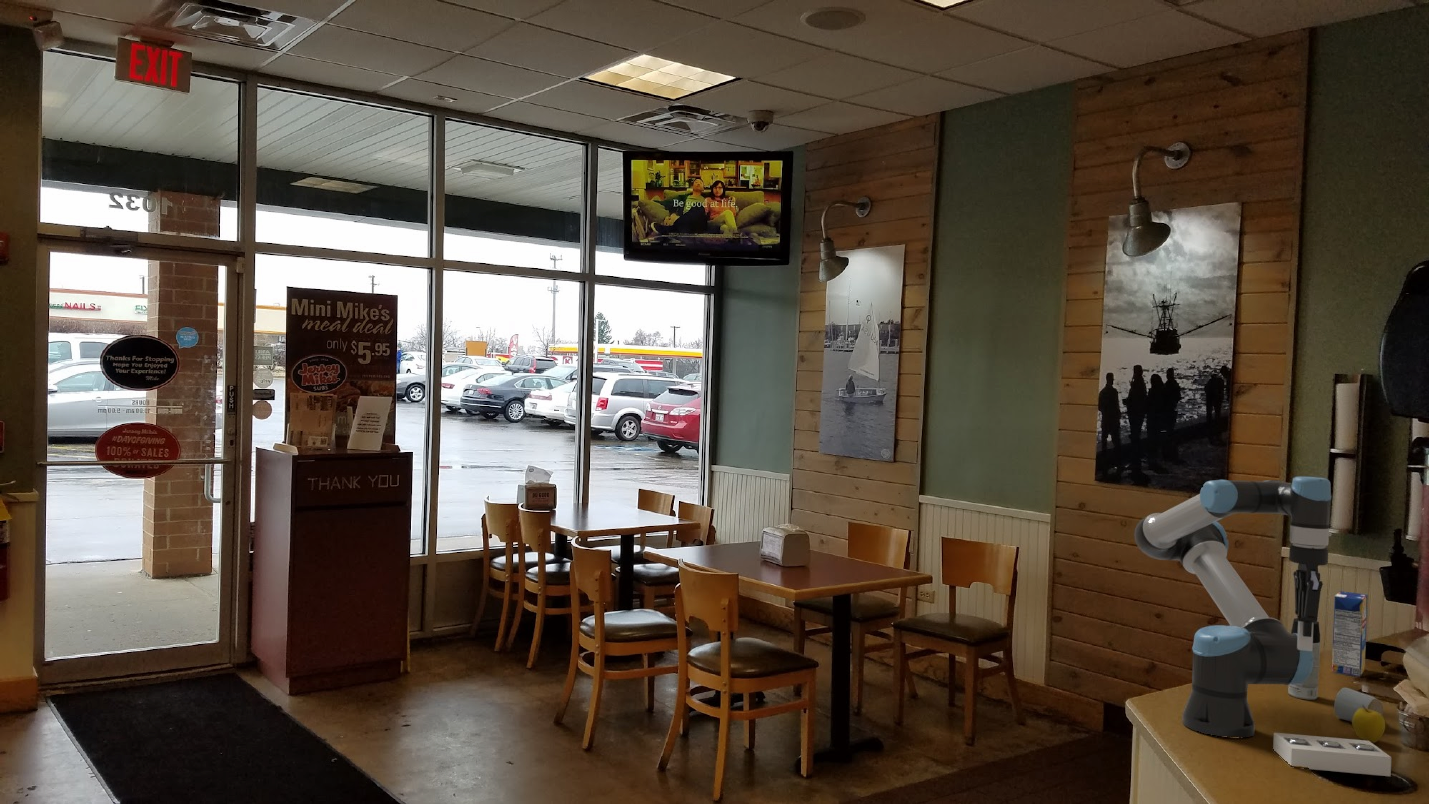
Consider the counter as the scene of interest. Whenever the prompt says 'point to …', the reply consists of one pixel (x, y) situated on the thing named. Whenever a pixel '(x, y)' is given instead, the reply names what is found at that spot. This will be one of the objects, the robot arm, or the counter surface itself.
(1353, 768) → the console
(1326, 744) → the knob mid
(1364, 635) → the beverage box
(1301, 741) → the knob
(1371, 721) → the apple
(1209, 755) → the counter surface
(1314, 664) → the spray can
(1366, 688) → the counter surface
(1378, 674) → the counter surface
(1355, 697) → the ceramic mug
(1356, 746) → the knob
